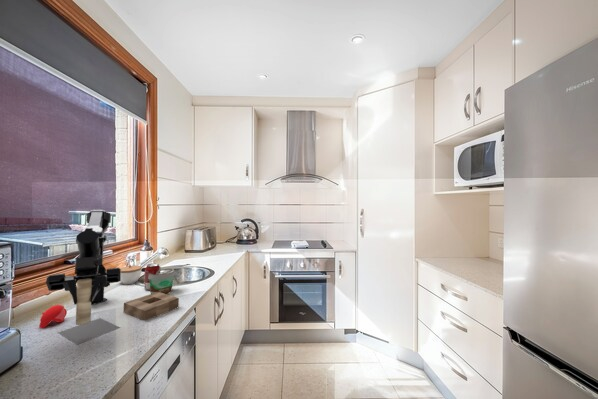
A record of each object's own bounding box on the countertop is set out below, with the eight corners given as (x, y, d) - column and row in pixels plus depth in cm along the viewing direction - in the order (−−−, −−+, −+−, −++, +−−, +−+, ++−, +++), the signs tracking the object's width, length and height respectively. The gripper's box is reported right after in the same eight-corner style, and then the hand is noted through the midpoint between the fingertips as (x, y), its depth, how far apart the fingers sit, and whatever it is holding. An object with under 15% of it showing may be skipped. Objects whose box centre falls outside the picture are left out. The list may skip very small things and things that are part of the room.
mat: (57, 333, 82) (57, 332, 82) (99, 318, 93) (100, 317, 93) (77, 346, 76) (77, 344, 76) (120, 328, 86) (120, 327, 86)
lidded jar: (146, 280, 138) (146, 263, 138) (128, 286, 127) (129, 268, 127) (130, 278, 140) (130, 261, 140) (111, 284, 130) (112, 266, 130)
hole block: (123, 312, 98) (123, 302, 98) (157, 300, 110) (158, 291, 110) (144, 321, 91) (144, 310, 91) (178, 307, 104) (178, 298, 104)
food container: (154, 298, 112) (155, 276, 113) (147, 295, 116) (147, 274, 116) (179, 290, 123) (180, 270, 123) (172, 288, 126) (173, 268, 126)
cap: (56, 308, 93) (39, 306, 88) (71, 304, 93) (54, 301, 88) (49, 332, 89) (31, 330, 84) (64, 327, 89) (47, 325, 84)
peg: (73, 323, 79) (74, 280, 79) (87, 318, 82) (88, 277, 83) (79, 326, 78) (80, 282, 78) (92, 321, 81) (93, 279, 81)
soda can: (152, 291, 121) (153, 266, 121) (141, 290, 123) (141, 265, 123) (163, 286, 128) (163, 263, 128) (151, 285, 129) (152, 262, 129)
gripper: (48, 249, 78) (36, 296, 69) (121, 244, 89) (119, 284, 79) (54, 268, 85) (43, 313, 75) (121, 262, 95) (119, 300, 86)
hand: (83, 302), depth 79 cm, fingers closed on peg, 4 cm apart
